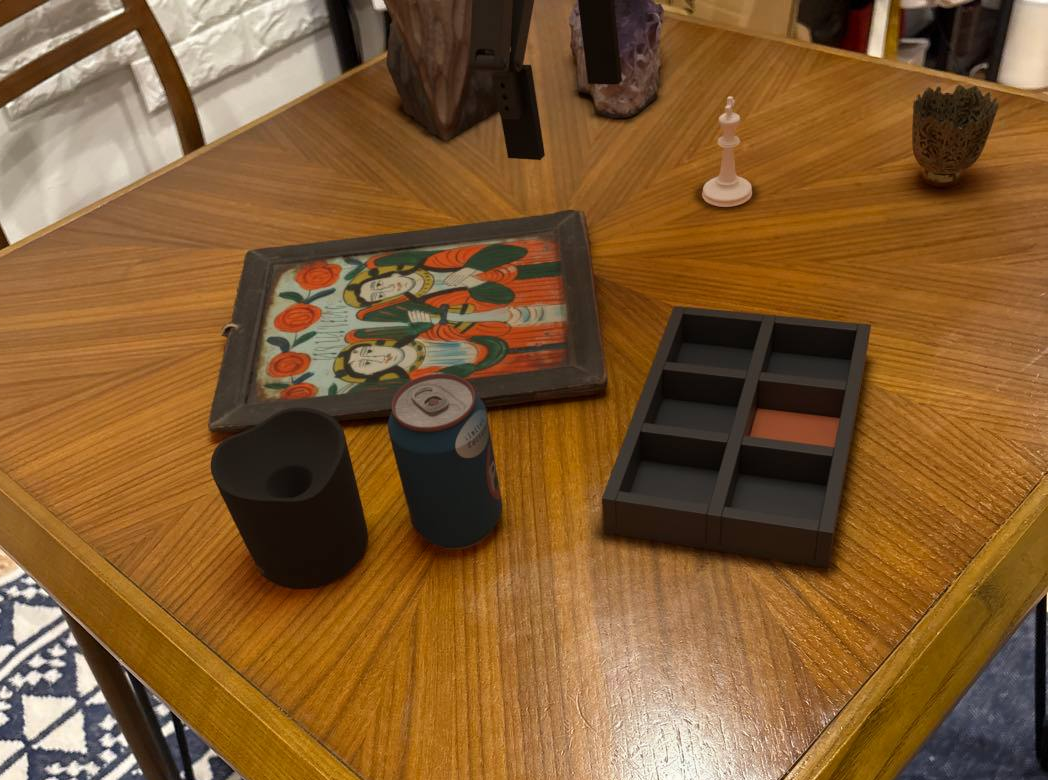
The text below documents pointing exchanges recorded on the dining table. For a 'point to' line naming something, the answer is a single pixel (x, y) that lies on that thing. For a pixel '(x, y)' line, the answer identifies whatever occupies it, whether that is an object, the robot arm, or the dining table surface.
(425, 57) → the owl
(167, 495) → the dining table surface
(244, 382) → the painting
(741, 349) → the grid
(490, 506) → the soda can
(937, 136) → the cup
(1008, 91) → the dining table surface
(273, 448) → the pen holder
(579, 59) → the geode
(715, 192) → the chess piece
